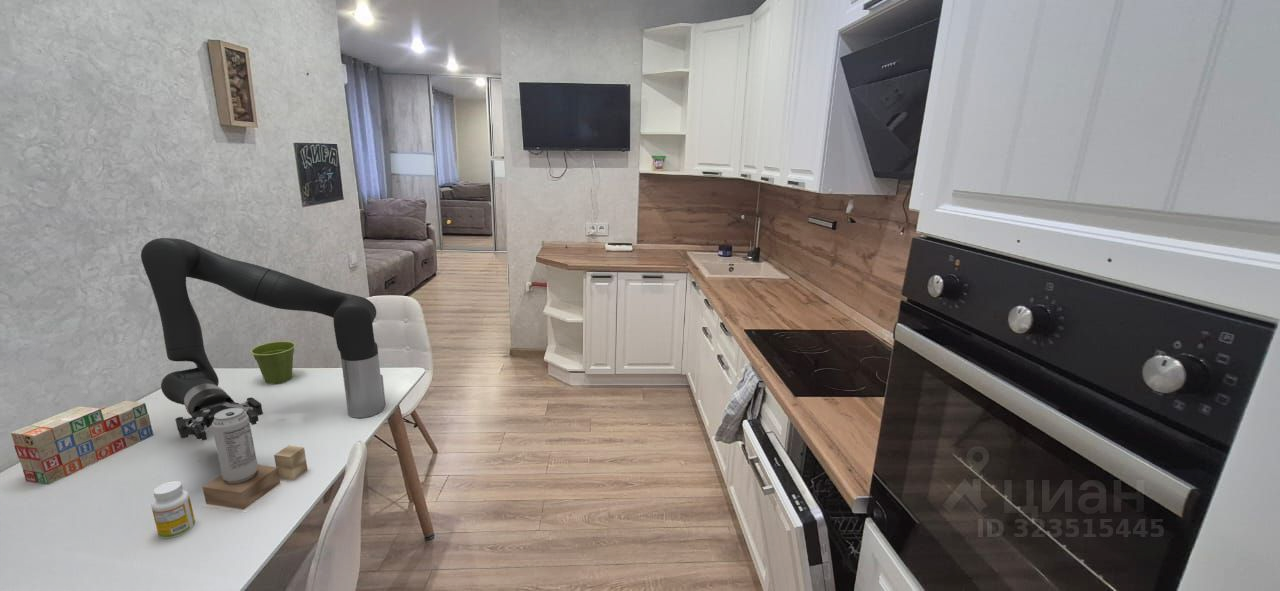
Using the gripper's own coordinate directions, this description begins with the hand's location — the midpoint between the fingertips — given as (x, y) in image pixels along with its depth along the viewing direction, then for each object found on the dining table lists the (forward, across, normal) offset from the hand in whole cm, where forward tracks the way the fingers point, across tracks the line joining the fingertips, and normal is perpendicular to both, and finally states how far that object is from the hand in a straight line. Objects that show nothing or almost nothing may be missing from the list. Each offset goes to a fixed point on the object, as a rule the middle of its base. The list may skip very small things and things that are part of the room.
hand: (230, 428), depth 107 cm
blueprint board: (+2, +2, +15) cm, 15 cm away
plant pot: (-57, +25, +15) cm, 64 cm away
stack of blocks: (-40, -18, +16) cm, 47 cm away
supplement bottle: (+6, -12, +15) cm, 20 cm away
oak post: (+3, +9, +15) cm, 17 cm away
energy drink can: (+2, 0, +11) cm, 11 cm away
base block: (+3, 0, +15) cm, 15 cm away
